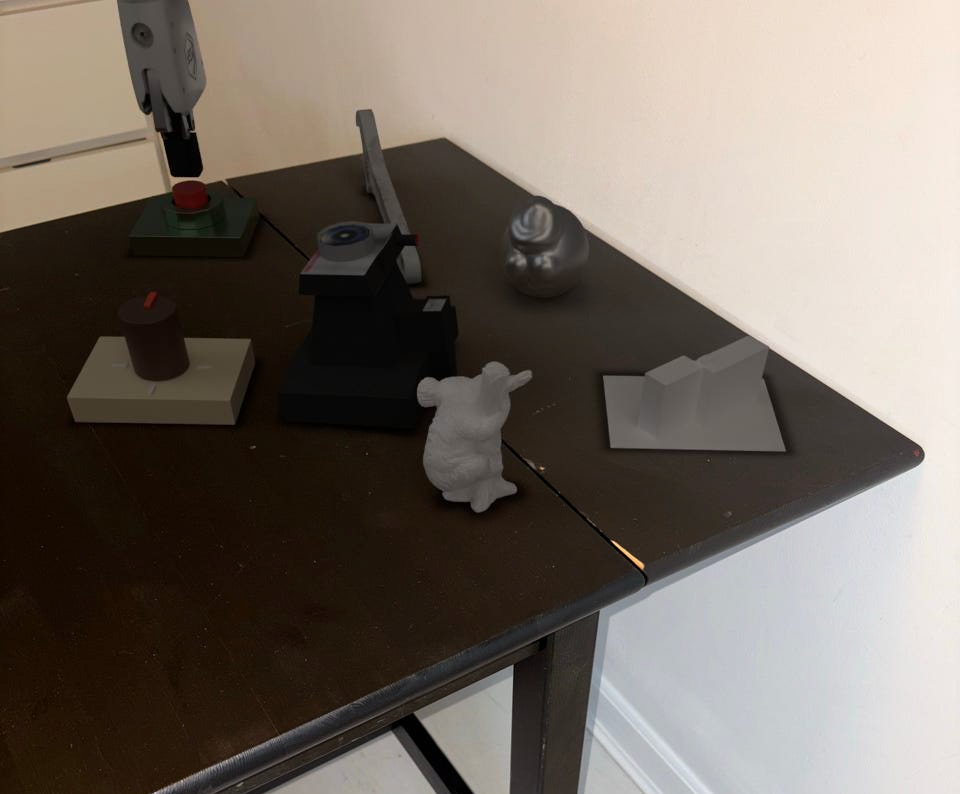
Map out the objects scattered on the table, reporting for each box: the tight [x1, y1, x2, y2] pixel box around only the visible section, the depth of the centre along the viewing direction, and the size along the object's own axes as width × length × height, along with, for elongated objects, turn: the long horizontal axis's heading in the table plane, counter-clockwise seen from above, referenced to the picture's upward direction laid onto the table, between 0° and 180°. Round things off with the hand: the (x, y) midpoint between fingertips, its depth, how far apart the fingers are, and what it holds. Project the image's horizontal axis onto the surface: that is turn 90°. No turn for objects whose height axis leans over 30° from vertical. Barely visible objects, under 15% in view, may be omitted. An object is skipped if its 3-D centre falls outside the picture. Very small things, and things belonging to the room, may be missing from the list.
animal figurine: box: [417, 361, 533, 514], centre depth 75 cm, size 8×7×12 cm
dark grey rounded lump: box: [500, 195, 590, 299], centre depth 98 cm, size 9×10×10 cm
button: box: [171, 179, 209, 208], centre depth 107 cm, size 4×4×2 cm
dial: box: [117, 291, 190, 381], centre depth 85 cm, size 5×5×6 cm
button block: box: [128, 187, 261, 258], centre depth 109 cm, size 12×10×4 cm
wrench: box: [355, 108, 422, 285], centre depth 110 cm, size 8×2×30 cm
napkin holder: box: [602, 335, 787, 452], centre depth 85 cm, size 15×11×6 cm
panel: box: [66, 336, 256, 426], centre depth 88 cm, size 14×10×3 cm
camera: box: [276, 220, 459, 429], centre depth 85 cm, size 16×14×15 cm
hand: (187, 173), depth 105 cm, fingers closed
